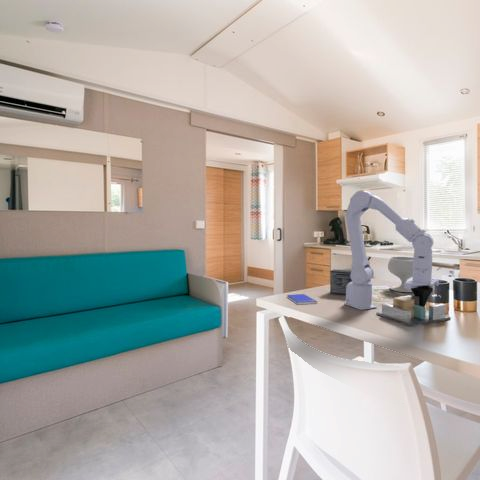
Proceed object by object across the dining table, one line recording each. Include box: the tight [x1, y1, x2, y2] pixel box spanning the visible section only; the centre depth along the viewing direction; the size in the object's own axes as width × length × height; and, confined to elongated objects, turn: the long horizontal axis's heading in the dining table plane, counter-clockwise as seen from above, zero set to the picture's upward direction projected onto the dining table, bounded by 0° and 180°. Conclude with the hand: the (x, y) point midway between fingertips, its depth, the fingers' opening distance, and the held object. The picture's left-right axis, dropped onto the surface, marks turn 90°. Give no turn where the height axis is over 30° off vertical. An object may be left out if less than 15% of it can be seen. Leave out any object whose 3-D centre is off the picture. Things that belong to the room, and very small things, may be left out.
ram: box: [410, 294, 427, 319], centre depth 112 cm, size 10×4×6 cm, turn 22°
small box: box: [329, 268, 352, 296], centre depth 147 cm, size 11×6×10 cm, turn 58°
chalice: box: [387, 256, 413, 293], centre depth 152 cm, size 14×14×15 cm
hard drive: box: [286, 293, 318, 306], centre depth 136 cm, size 2×8×12 cm
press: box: [376, 294, 452, 328], centre depth 112 cm, size 14×18×5 cm
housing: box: [392, 296, 414, 318], centre depth 111 cm, size 4×4×6 cm
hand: (421, 307), depth 114 cm, fingers closed
